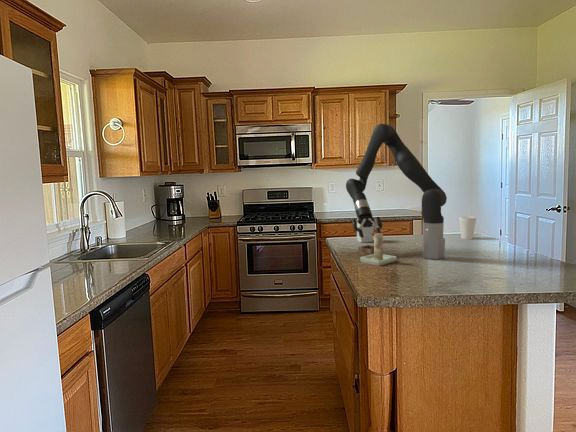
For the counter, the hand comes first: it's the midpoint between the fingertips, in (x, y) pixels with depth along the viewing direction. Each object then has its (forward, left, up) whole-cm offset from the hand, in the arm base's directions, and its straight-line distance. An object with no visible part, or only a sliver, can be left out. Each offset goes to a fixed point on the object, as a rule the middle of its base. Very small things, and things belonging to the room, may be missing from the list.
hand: (370, 236), depth 201 cm
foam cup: (-10, -79, -10) cm, 80 cm away
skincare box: (+27, -29, -10) cm, 41 cm away
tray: (-10, +6, -10) cm, 15 cm away
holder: (+3, -4, -10) cm, 11 cm away
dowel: (-10, +6, -9) cm, 15 cm away
